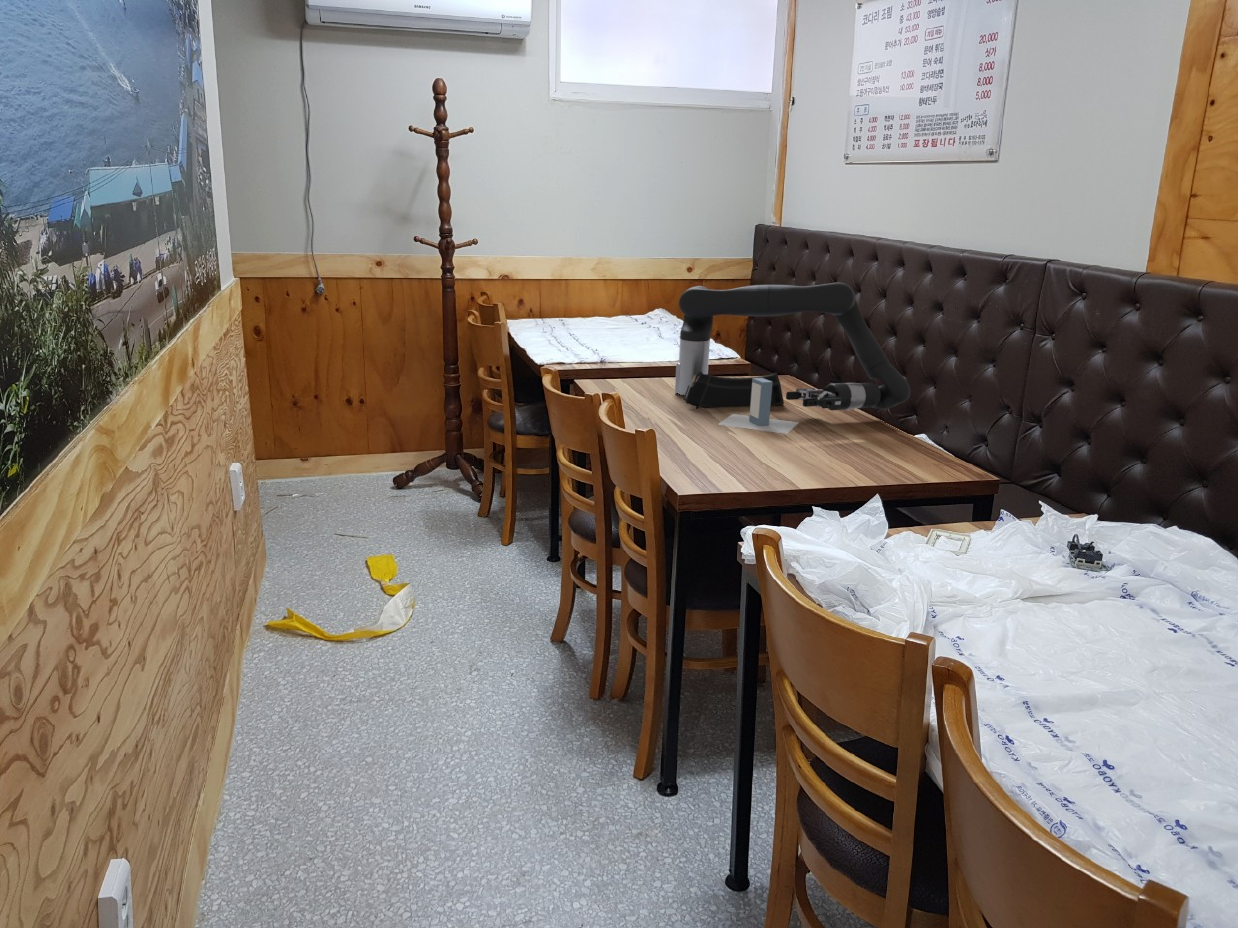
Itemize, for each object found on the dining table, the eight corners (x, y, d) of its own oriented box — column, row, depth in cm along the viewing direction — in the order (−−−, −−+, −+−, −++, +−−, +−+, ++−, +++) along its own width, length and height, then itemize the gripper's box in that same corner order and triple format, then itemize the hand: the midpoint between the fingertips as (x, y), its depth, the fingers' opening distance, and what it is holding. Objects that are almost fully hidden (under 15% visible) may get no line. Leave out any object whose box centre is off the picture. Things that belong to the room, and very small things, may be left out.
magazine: (789, 376, 265) (700, 348, 255) (794, 378, 262) (704, 350, 252) (769, 430, 268) (681, 404, 258) (774, 432, 265) (684, 406, 255)
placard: (758, 426, 238) (762, 382, 234) (748, 421, 243) (751, 378, 239) (768, 425, 239) (772, 381, 235) (758, 420, 244) (762, 377, 240)
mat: (717, 427, 238) (717, 424, 238) (732, 416, 251) (732, 413, 250) (786, 436, 231) (787, 433, 231) (798, 425, 244) (799, 422, 243)
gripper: (831, 378, 254) (782, 380, 248) (861, 388, 241) (810, 391, 235) (828, 403, 256) (780, 406, 250) (858, 415, 243) (808, 418, 238)
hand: (795, 399), depth 243 cm, fingers open, 8 cm apart
